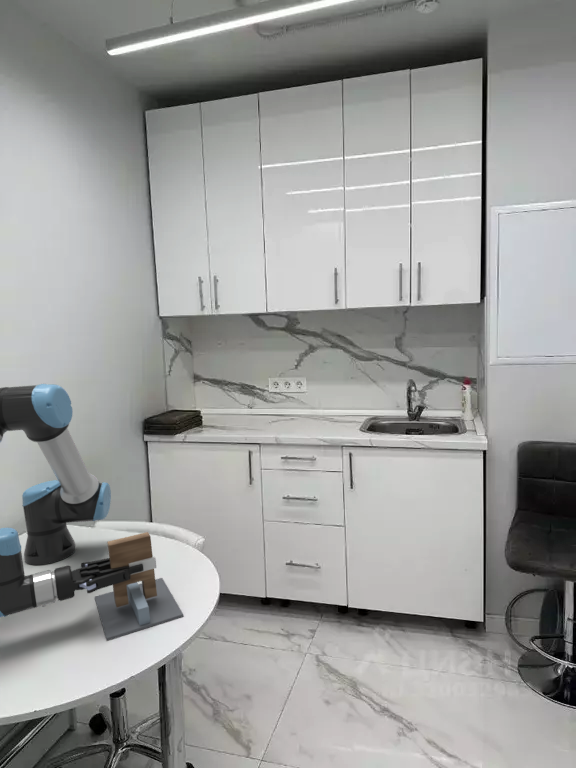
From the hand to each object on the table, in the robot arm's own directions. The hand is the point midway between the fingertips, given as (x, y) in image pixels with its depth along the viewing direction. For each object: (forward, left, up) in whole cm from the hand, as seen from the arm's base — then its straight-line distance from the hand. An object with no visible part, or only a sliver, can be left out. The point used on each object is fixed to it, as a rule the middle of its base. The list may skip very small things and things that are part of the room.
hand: (153, 559), depth 139 cm
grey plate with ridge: (0, -5, -11) cm, 13 cm away
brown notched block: (0, -5, -9) cm, 11 cm away
